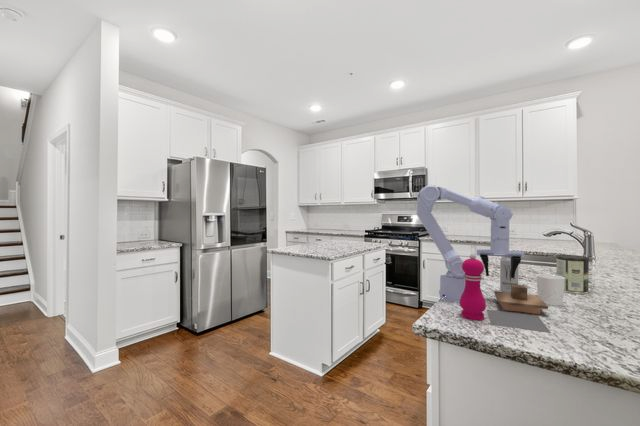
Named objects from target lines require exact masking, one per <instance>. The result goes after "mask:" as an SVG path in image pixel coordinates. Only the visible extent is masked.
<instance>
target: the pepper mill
mask: <svg viewBox="0 0 640 426" xmlns="http://www.w3.org/2000/svg"><path fill="white" fill-rule="evenodd" d="M463 261H464V262H463V264H462V269H463V271H464V272H465V274H464V279H465V289H464V291H463V294H462V296H461V298H460V302H459V306H460V308H461V309H462V310H461V313H460V314H461V315H460V316H461V317H463V318H464V319H467V320H471V321H483V320H484V319H485V314H484V311H486V310H487V305H486V304H487V303H486V300H485V297H484V294H483V292H482V289H481V281H482V280H483V279H482V277H483V276H482V274H483V272H484V270H485V267H484V264H483V262H482V260H481V261H480V260H479V259H477V254H476V253H475V254H474V253H470V255H469V258H467V259H465V260H463Z"/></svg>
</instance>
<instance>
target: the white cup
mask: <svg viewBox="0 0 640 426" xmlns="http://www.w3.org/2000/svg"><path fill="white" fill-rule="evenodd" d="M564 285H565V277H562V276H558V275H557V274H551V273H538V274H536V289H537V295H538V296H539V297H540V298H541V299H542V300H543V302H544V303H545V304H546V305H547V306H551V307H552V306H553V307H560V306H561V307H563V304H564V296H565V295H564V294H565V292H564Z"/></svg>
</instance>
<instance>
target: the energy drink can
mask: <svg viewBox="0 0 640 426" xmlns="http://www.w3.org/2000/svg"><path fill="white" fill-rule="evenodd" d="M499 262H500V263H499V264H500V265H499V267H500V270H499V271H500V273H499V276H500V278H499V291H500V292H510V293H511V284H515V285H519V266H518V267H517V269H516V271H515V274H514V278H511V276H510V273H511V257H502V256H501V258H500V260H499Z"/></svg>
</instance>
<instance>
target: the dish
mask: <svg viewBox="0 0 640 426" xmlns="http://www.w3.org/2000/svg"><path fill="white" fill-rule="evenodd" d="M500 305H501V307H502V310H504V311H510V312H511V311H513V312H517V313H525V314H534V315H535V314H537V315H541V308H534V307H525V306H516V305H507V304H500Z"/></svg>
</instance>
